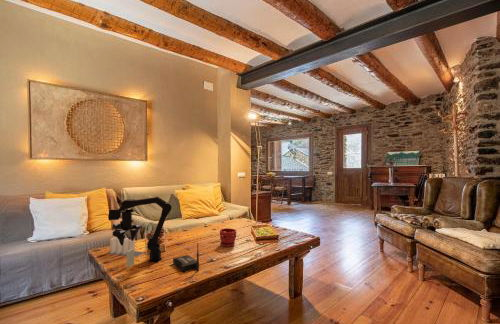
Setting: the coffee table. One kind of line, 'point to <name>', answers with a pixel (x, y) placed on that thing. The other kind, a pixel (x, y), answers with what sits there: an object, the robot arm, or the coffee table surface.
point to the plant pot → (227, 237)
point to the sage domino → (130, 257)
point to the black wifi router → (187, 262)
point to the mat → (126, 253)
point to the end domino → (113, 244)
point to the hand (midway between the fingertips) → (127, 243)
